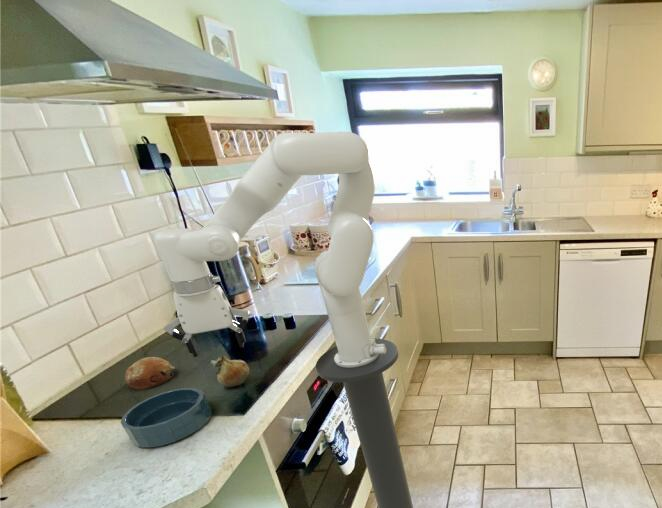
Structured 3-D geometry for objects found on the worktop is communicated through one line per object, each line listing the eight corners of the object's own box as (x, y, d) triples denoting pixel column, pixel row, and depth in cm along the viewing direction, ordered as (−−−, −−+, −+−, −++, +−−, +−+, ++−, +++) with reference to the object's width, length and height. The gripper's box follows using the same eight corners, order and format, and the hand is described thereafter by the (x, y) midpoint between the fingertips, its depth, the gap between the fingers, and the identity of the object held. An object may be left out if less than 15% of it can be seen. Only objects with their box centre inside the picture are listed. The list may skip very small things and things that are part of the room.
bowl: (227, 406, 99) (218, 387, 97) (179, 450, 86) (167, 429, 84) (170, 406, 100) (160, 387, 98) (115, 449, 88) (101, 428, 85)
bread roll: (165, 380, 119) (143, 358, 116) (188, 367, 115) (165, 344, 112) (133, 401, 110) (108, 377, 107) (157, 387, 107) (132, 363, 104)
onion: (220, 396, 103) (207, 369, 100) (220, 381, 109) (208, 355, 106) (254, 386, 107) (243, 359, 103) (252, 372, 113) (242, 346, 109)
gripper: (239, 273, 102) (260, 336, 109) (152, 286, 95) (181, 351, 103) (235, 282, 96) (258, 348, 103) (143, 296, 89) (174, 365, 97)
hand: (220, 349), depth 103 cm, fingers open, 9 cm apart
